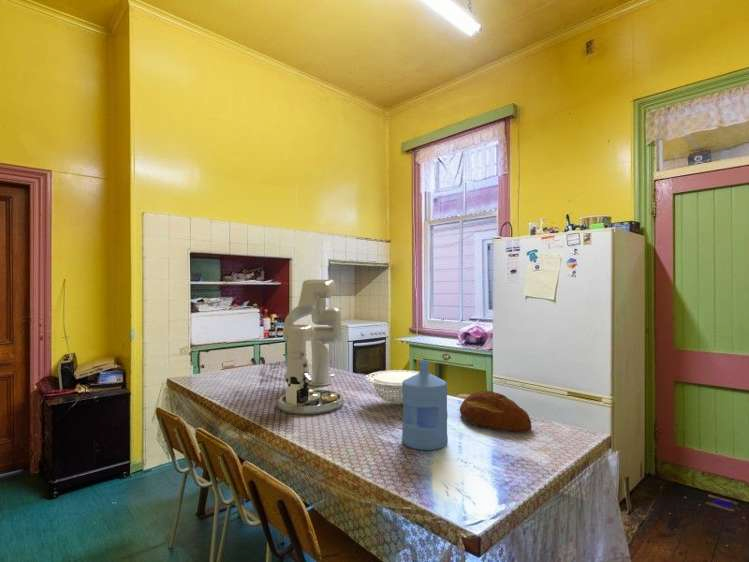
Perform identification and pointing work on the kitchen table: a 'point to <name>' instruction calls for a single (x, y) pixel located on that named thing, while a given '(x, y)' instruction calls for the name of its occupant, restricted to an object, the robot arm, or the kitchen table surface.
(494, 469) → the kitchen table surface
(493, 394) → the bread
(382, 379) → the colander
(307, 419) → the kitchen table surface
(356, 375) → the kitchen table surface
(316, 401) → the carrier
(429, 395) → the water jug
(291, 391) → the medicine bottle
